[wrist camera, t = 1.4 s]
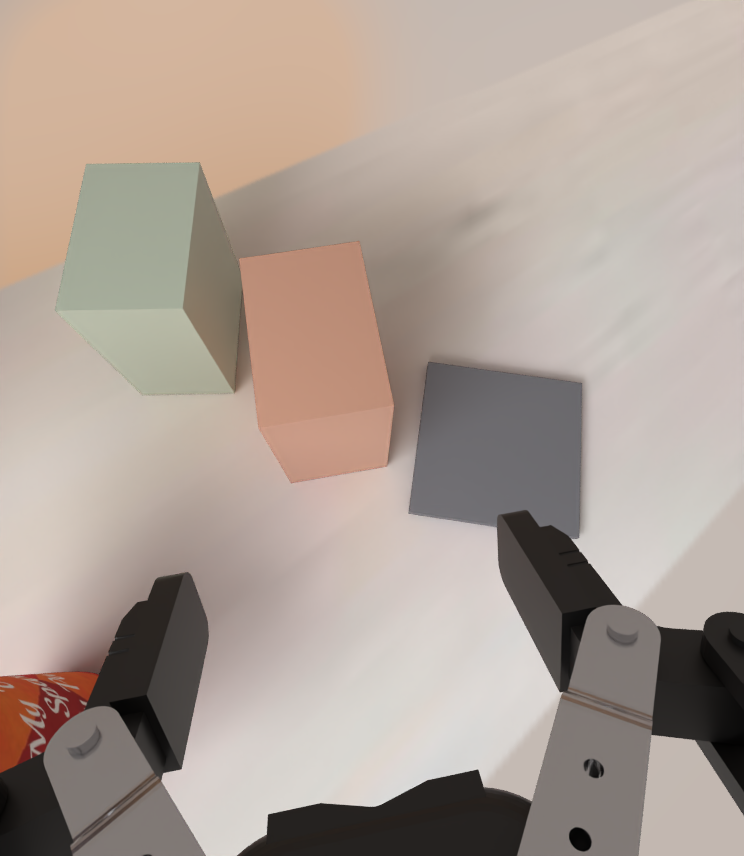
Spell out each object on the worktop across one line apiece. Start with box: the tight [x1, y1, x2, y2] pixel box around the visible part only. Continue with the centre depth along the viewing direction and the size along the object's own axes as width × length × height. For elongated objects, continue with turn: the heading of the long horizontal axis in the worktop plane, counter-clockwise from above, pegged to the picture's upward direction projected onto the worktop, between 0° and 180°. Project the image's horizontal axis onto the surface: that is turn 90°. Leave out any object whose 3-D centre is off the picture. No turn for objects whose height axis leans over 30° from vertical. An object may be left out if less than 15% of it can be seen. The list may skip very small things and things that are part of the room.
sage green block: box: [55, 162, 242, 395], centre depth 31 cm, size 9×6×10 cm, turn 1°
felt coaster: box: [408, 362, 582, 539], centre depth 33 cm, size 10×10×1 cm
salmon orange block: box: [239, 241, 394, 483], centre depth 29 cm, size 9×6×10 cm, turn 10°
